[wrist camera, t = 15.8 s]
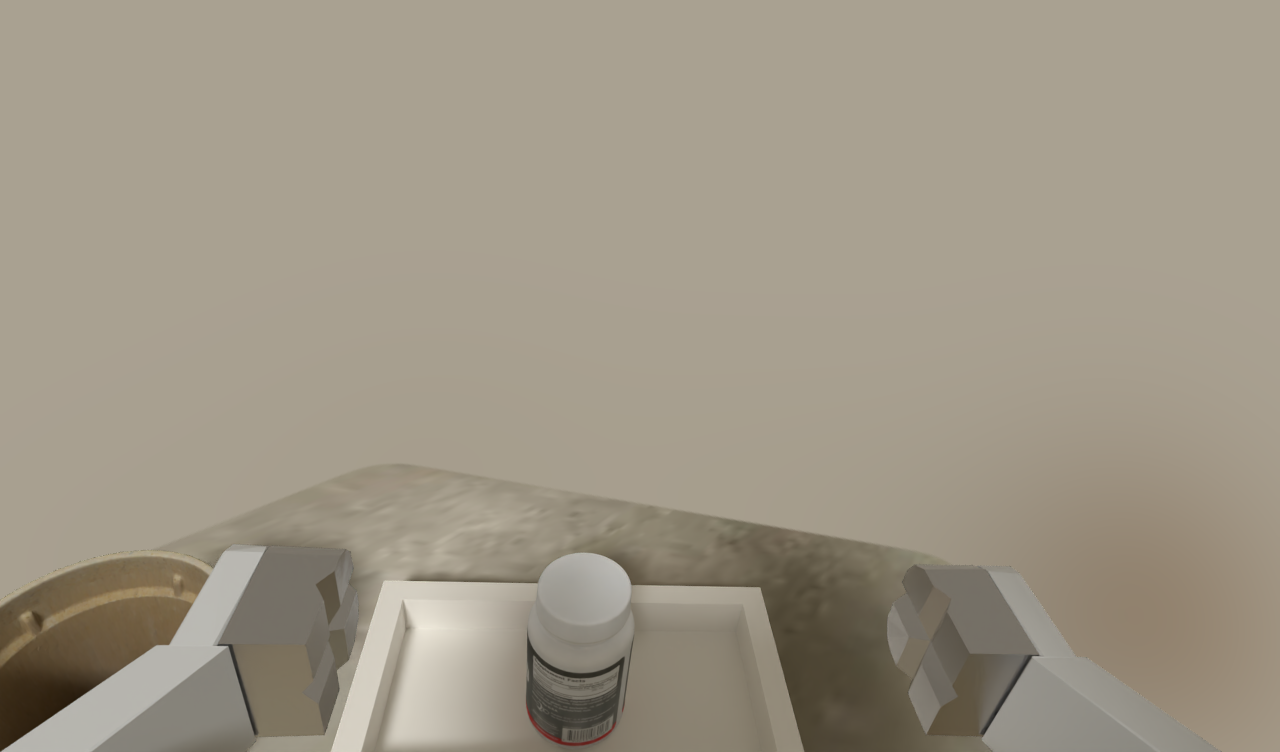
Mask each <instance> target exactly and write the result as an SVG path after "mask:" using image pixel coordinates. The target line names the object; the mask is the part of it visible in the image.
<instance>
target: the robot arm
mask: <svg viewBox="0 0 1280 752" xmlns="http://www.w3.org/2000/svg"><path fill="white" fill-rule="evenodd" d="M353 569H354V567H353V562H352V557H351V551H348V550H346V549H330V548H310V547H291V546H259V545H239V544H233V545H232V546H230V547H229V548H228V549H227V550H226V551H224V552H223V553H222V555H221V557H220V558H219V560H218V562H217V563H216V565H215V567H214V569H213V570H212V572H211V574H210V575H209V577H208V579H207V581H206V582H205V584H204V586H203V587H202V589H201V591H200V593H199V594H198V596H197V598H196V599H195V601H194V603H193V605H192V606H191V608H190V610H189V612H188V613H187V615H186V617H185V618H184V620H183V622H182V624H181V625H180V627H179V629H178V630H177V632H176V634H175V636H174V637H173V639H172V641H171V642H170V644H169V645H156V646H155V647H153V648H152V649H150V650H149V651H147V652H146V653H144V654H143V655H141V656H140V657H139V658H137V659H136V660H134V661H133V662H131V663H130V664H128V665H127V666H125V667H124V668H122V669H121V670H120V671H118V672H117V673H115V674H114V675H112V676H111V677H109V678H108V679H106V680H105V681H103V682H102V683H100V684H99V685H98V686H96V687H95V688H93V689H92V690H90V691H89V692H87V693H86V694H84V695H83V696H81V697H80V698H79V699H77V700H76V701H74V702H73V703H71V704H70V705H68V706H67V707H65V708H64V709H62V710H61V711H60V712H58V713H57V714H55V715H54V716H52V717H51V718H49V719H48V720H46V721H45V722H43V723H42V724H41V725H39V726H38V727H36V728H35V729H33V730H32V731H30V732H29V733H27V734H26V735H24V736H23V737H22V738H20V739H19V740H17V741H16V742H14V743H13V744H11V745H10V746H8V747H7V748H5V749H4V750H2V751H1V752H246V751H247V750H248V749H249V748H250V747H251V746H252V745H253V744H254V743H255V742H256V738H255V737H278V736H314V735H325V732H326V729H327V726H328V723H329V720H330V717H331V714H332V711H333V708H334V705H335V702H336V699H337V696H338V693H339V689H340V688H339V682H338V676H337V670H338V669H339V668H340V667H341V666H342V665H344V664H345V663H346V662H347V661H348V660H349V658H350V655H351V652H352V648H353V645H354V642H355V636H356V630H357V624H358V605H359V603H358V595H357V591H356V590H355V589H354V588H353V587H352V586H351V585H350V584H348V583H349V581H350V578H351V575H352V572H353ZM902 583H903V585H904V588H905V590H906V592H907V593H906V594H904V595H903V596H902V597H900V598H899V599H897V600H896V601H895V602H893V604H892V607H891V610H890V613H889V615H888V618H887V638H888V643H889V647H890V651H891V654H892V656H893V659H894V661H895V664H896V666H897V667H898V668H899V669H901V670H902V671H903V672H904V673H905V674H906V675H907V676H909V677H910V678H911V679H912V681H911V684H910V687H909V690H908V695H909V697H910V699H911V702H912V704H913V706H914V709H915V711H916V713H917V716H918V718H919V720H920V722H921V725H922V727H923V729H924V732H925V734H926V735H941V736H976V737H983V738H982V739H981V740H982V741H983V742H984V743H985V744H986V745H987V746H988V747H989V748H990V749H991V750H992V751H993V752H1221V751H1220V750H1218V749H1217V748H1215V747H1214V746H1213V745H1211V744H1209V743H1208V742H1207V741H1205V740H1204V739H1203V738H1201V737H1200V736H1198V735H1197V734H1195V733H1194V732H1193V731H1191V730H1190V729H1188V728H1187V727H1185V726H1184V725H1182V724H1181V723H1179V722H1178V721H1177V720H1175V719H1174V718H1173V717H1171V716H1170V715H1168V714H1167V713H1165V712H1164V711H1163V710H1161V709H1160V708H1158V707H1157V706H1155V705H1154V704H1153V703H1151V702H1150V701H1148V700H1147V699H1145V698H1144V697H1143V696H1141V695H1140V694H1138V693H1137V692H1135V691H1134V690H1132V689H1131V688H1130V687H1128V686H1127V685H1125V684H1124V683H1123V682H1121V681H1120V680H1118V679H1116V678H1115V677H1114V676H1112V675H1111V674H1110V673H1108V672H1107V671H1105V670H1104V669H1102V668H1101V667H1100V666H1098V665H1097V664H1095V663H1094V662H1092V661H1091V660H1090V659H1088V658H1087V657H1076V655H1075V654H1074V652H1073V651H1072V649H1071V648H1070V647H1069V645H1068V644H1067V642H1066V641H1065V639H1064V638H1063V636H1062V635H1061V633H1060V632H1059V630H1058V629H1057V628H1056V626H1055V625H1054V623H1053V622H1052V620H1051V619H1050V617H1049V616H1048V614H1047V613H1046V611H1045V610H1044V608H1043V607H1042V605H1041V604H1040V602H1039V601H1038V600H1037V598H1036V597H1035V595H1034V594H1033V592H1032V591H1031V589H1030V588H1029V586H1028V585H1027V583H1026V582H1025V580H1024V579H1023V578H1022V576H1021V575H1020V574H1019V572H1018V571H1016V570H1015V569H1013V568H1012V567H1011V566H973V565H917V564H914V565H913V566H912V567H911V568H909V569H908V570H907V572H906V574H905V576H904V579H903V581H902Z"/></svg>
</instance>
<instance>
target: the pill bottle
mask: <svg viewBox="0 0 1280 752" xmlns="http://www.w3.org/2000/svg"><path fill="white" fill-rule="evenodd" d="M631 595H632V587H631V582H630V579H629V577H628V575H627V573H626V572H625V570H624V569H623V568H622V567H621V566H620V565H619V564H617V563H616V562H615V561H613V560H611V559H609V558H607V557H605V556H602V555H599V554H595V553H573V554H569V555H565V556H562V557H560V558H558V559H556V560H554V561H553V562H552V563H550V564H549V565H548V566H547V567H546V568H545V569H544V571H543V572H542V574H541V576H540V578H539V581H538V587H537V597H536V601H535V603H534V604H533V606H532V608H531V610H530V613H529V618H528V627H527V677H526V709H527V714H528V717H529V720H530V722H531V724H532V726H533V727H534V729H535V730H536V731H537V732H538V733H539V734H540V735H541V736H542V737H543V738H544V739H545V740H547V741H548V742H550V743H552V744H554V745H556V746H559V747H562V748H567V749H581V748H586V747H590V746H593V745H595V744H597V743H599V742H601V741H603V740H604V739H605V738H607V737H608V736H609V735H610V734H611V733H612V732H613V731H614V729H615V728H616V727H617V725H618V724H619V722H620V719H621V717H622V714H623V710H624V705H625V696H626V689H627V682H628V674H629V667H630V660H631V653H632V646H633V640H634V629H635V624H634V617H633V613H632V610H631Z"/></svg>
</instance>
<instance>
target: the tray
mask: <svg viewBox="0 0 1280 752" xmlns="http://www.w3.org/2000/svg"><path fill="white" fill-rule="evenodd" d="M537 587H538V583H487V582H431V581H384V582H383V585H382V589H381V592H380V595H379V598H378V601H377V605H376V608H375V611H374V614H373V618H372V621H371V624H370V627H369V631H368V634H367V637H366V640H365V643H364V647H363V650H362V653H361V656H360V660H359V663H358V666H357V669H356V673H355V676H354V679H353V682H352V685H351V689H350V692H349V695H348V698H347V702H346V705H345V708H344V711H343V715H342V718H341V721H340V724H339V727H338V731H337V734H336V737H335V740H334V744H333V747H332V750H331V752H804V749H803V745H802V742H801V738H800V734H799V730H798V727H797V723H796V719H795V716H794V712H793V708H792V704H791V701H790V697H789V693H788V689H787V686H786V682H785V678H784V674H783V671H782V667H781V663H780V659H779V656H778V652H777V648H776V644H775V641H774V637H773V633H772V630H771V626H770V622H769V618H768V615H767V611H766V607H765V603H764V600H763V596H762V592H761V588H760V587H713V586H656V585H631V587H632V595H631V610H632V613H633V617H634V624H635V629H634V640H633V646H632V653H631V660H630V667H629V674H628V682H627V689H626V696H625V705H624V710H623V714H622V717H621V719H620V722H619V724H618V725H617V727H616V728H615V729H614V731H613V732H612V733H611V734H610V735H609V736H608V737H607V738H605V739H604V740H603V741H601V742H599V743H597V744H595V745H593V746H590V747H586V748H581V749H567V748H562V747H559V746H556V745H554V744H552V743H550V742H548V741H547V740H545V739H544V738H543V737H542V736H541V735H540V734H539V733H538V732H537V731H536V730H535V729H534V727H533V726H532V724H531V722H530V720H529V717H528V714H527V709H526V677H527V627H528V618H529V613H530V610H531V608H532V606H533V604H534V603H535V601H536V597H537Z"/></svg>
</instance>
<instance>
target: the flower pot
mask: <svg viewBox="0 0 1280 752" xmlns="http://www.w3.org/2000/svg"><path fill="white" fill-rule="evenodd" d="M213 569H214V568H213V567H212V566H210V565H209V564H207V563H205V562H203V561H201V560H200V559H196V558H194V557H192V556H190V555H186V554H179V553H176V552H170V551H159V550H141V551H131V552H119V553H113V554H108V555H104V556H100V557H94V558H91V559H87V560H84V561H80V562H78V563H75V564H73V565H70V566H66V567H64V568H60V569H58V570H55V571H54V572H52V573H49V574H47V575H46V576H43V577H41V578H39V579H37V580H35V581H32V582H30V583H28V584H26V585H25V586H23V587H21V588H19V589H17V590H15V591H14V592H12V593H11V594H9V595H7V596H5V597H4V598H2V599H1V600H0V752H1V751H2V750H4V749H5V748H7V747H8V746H10V745H11V744H13V743H14V742H16V741H17V740H19V739H20V738H22V737H23V736H24V735H26V734H27V733H29V732H30V731H32V730H33V729H35V728H36V727H38V726H39V725H41V724H42V723H43V722H45V721H46V720H48V719H49V718H51V717H52V716H54V715H55V714H57V713H58V712H60V711H61V710H62V709H64V708H65V707H67V706H68V705H70V704H71V703H73V702H74V701H76V700H77V699H79V698H80V697H81V696H83V695H84V694H86V693H87V692H89V691H90V690H92V689H93V688H95V687H96V686H98V685H99V684H100V683H102V682H103V681H105V680H106V679H108V678H109V677H111V676H112V675H114V674H115V673H117V672H118V671H120V670H121V669H122V668H124V667H125V666H127V665H128V664H130V663H131V662H133V661H134V660H136V659H137V658H139V657H140V656H141V655H143V654H144V653H146V652H147V651H149V650H150V649H152V648H153V647H155V646H156V645H169V644H170V642H171V641H172V639H173V637H174V636H175V634H176V632H177V630H178V629H179V627H180V625H181V624H182V622H183V620H184V618H185V617H186V615H187V613H188V612H189V610H190V608H191V606H192V605H193V603H194V601H195V599H196V598H197V596H198V594H199V593H200V591H201V589H202V587H203V586H204V584H205V582H206V581H207V579H208V577H209V575H210V574H211V572H212V570H213Z"/></svg>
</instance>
